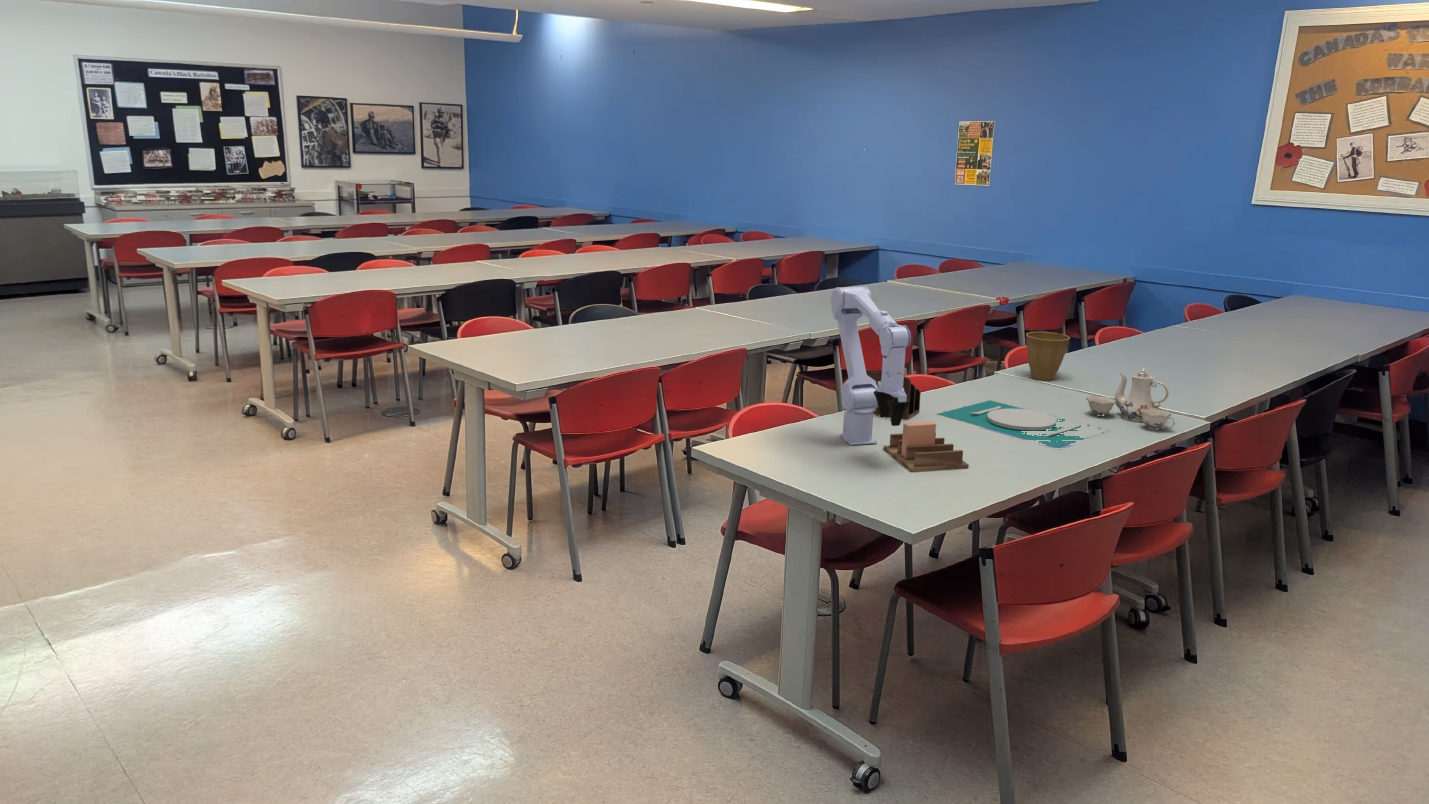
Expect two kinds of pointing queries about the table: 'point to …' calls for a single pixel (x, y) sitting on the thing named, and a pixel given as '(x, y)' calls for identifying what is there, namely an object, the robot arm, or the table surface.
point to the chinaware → (1135, 402)
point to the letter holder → (909, 390)
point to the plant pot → (1045, 353)
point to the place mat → (1014, 422)
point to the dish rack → (926, 455)
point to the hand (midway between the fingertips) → (889, 421)
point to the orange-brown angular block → (918, 434)
